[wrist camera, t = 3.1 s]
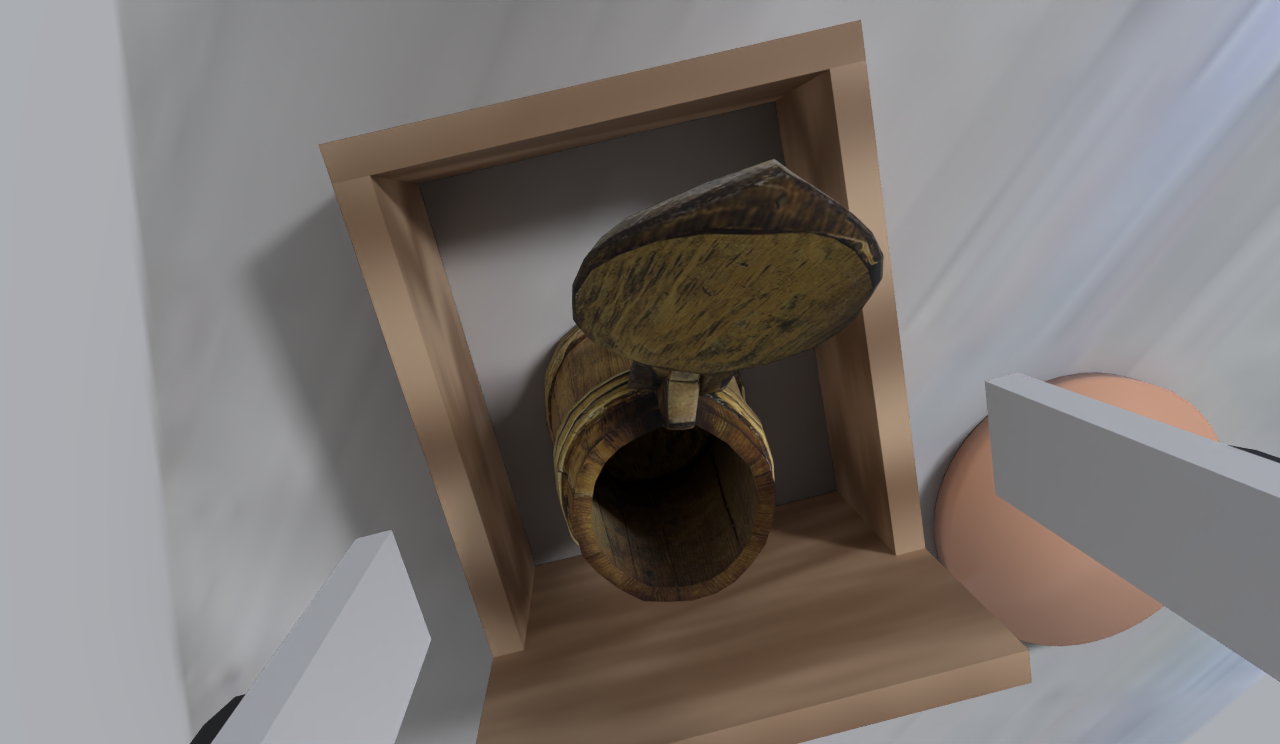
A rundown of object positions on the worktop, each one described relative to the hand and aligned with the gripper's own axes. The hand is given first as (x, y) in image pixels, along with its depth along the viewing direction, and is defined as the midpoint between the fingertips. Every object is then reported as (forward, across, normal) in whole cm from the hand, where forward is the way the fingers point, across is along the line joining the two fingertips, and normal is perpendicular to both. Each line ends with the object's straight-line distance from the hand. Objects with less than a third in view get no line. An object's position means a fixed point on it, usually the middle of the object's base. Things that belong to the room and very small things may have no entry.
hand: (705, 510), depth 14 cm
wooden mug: (+15, 0, 0) cm, 15 cm away
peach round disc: (+15, +19, -13) cm, 28 cm away
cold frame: (+15, 0, 0) cm, 15 cm away
